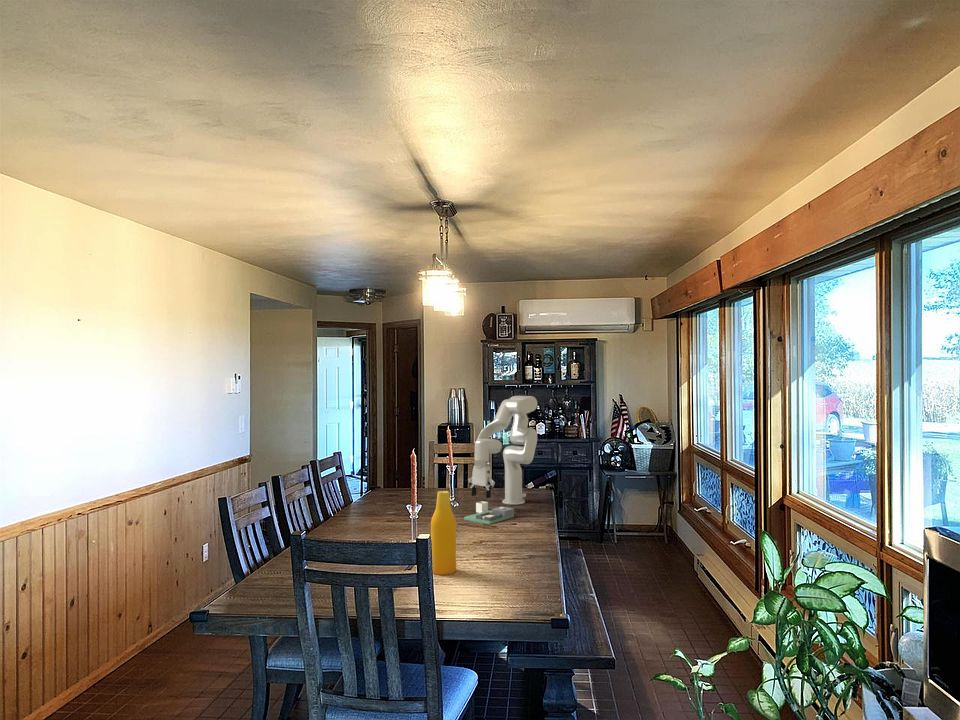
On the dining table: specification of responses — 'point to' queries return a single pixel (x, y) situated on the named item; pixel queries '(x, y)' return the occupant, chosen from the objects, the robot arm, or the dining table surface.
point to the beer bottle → (443, 536)
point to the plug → (481, 506)
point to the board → (473, 518)
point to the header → (489, 516)
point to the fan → (503, 511)
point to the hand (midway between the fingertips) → (481, 496)
